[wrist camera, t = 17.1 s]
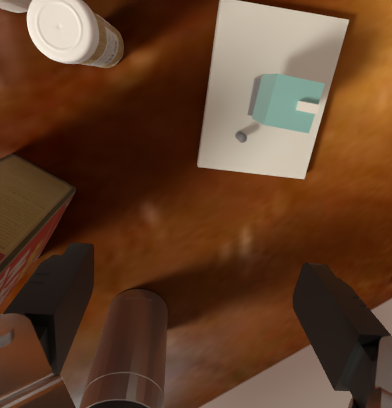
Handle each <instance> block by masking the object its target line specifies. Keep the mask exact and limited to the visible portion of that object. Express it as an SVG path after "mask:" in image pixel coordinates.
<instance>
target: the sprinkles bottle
mask: <svg viewBox="0 0 392 408" xmlns="http://www.w3.org/2000/svg"><path fill="white" fill-rule="evenodd" d="M27 25H28V30H29V33H30V36H31V38H32V40H33V42H34V44H35V45H36V46H37V48H38V49H39V50H40V51H41V52H42V53H43V54H44V55H46V56H47V57H49V58H50V59H52V60H55V61H58V62H62V63H67V64H78V63H79V64H83V65H90V66H98V67H101V68H110V67H113V66H115V65H116V64H117V63H118V62H119V61H120V60H121V58H122V56H123V52H124V44H123V43H124V42H123V39H122V37H121V34H120V33H119V31H118V30H117V29H116V28H115V27H114V26H112V25H110V24H109V23H108V22H107V21H105V20H104V19H103V18H101V17H100V16H99V15H97V14H95V13H94V12H92V11H91V9H90V8H89V7H88V6H87V4H85V3H84V2H83V1H82V0H32V2H31V3H30V6H29V8H28V12H27Z"/></svg>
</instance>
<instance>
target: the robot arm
mask: <svg viewBox="0 0 392 408" xmlns="http://www.w3.org/2000/svg"><path fill="white" fill-rule="evenodd" d="M93 285H94V246H93V244H86V243H74V242H72V243H70V245H69V246H68V248H67V249H66V251H65V252H64V254H63V255H53V256H51V257H49V258H48V259H46V260H45V261H43V262H42V263H41V264H40V265H39V266H38V268H37V269H36V270H35V272H34V274H33V275H32V276H31V277H30V278H29V280H28V282H27V283H26V284H25V285H24V286H23V288H22V289H21V290H20V292H19V293H18V294H17V296H16V297H15V298H14V300H13V301H12V302H11V304H10V305H9V306H8V308H7V309H6V310H5V312H4V313H3V314H2V315H0V408H76V407H75V405H74V403H73V401H72V398H71V396H70V394H69V392H68V389H67V387H66V385H65V383H64V381H63V379H62V377H61V376H60V372H61V370H62V367H63V365H64V362H65V360H66V357H67V355H68V352H69V350H70V347H71V345H72V342H73V340H74V337H75V335H76V332H77V330H78V327H79V325H80V322H81V320H82V317H83V315H84V313H85V310H86V308H87V305H88V303H89V300H90V298H91V295H92V291H93ZM293 308H294V311H295V313H296V315H297V317H298V319H299V321H300V323H301V325H302V327H303V329H304V331H305V333H306V335H307V337H308V339H309V341H310V343H311V345H312V347H313V349H314V351H315V353H316V355H317V356H318V359H319V361H320V363H321V365H322V367H323V369H324V370H325V373H326V375H327V377H328V379H329V381H330V383H331V385H332V387H333V388H334V390H335V391H337V390H338V391H350V392H351V394H352V396H353V397H352V399H351V401H350V403H349V407H348V408H392V336H391V335H390V333H389V332H388V331H387V330H386V329H385V327H384V326H383V325H382V324H381V323H380V321H379V320H378V319H377V318H376V317H375V316H374V314H373V313H372V312H371V311H370V309H369V308H366V305H365V303H364V302H363V301H362V300H361V299H359V296H358V295H357V294H356V293H355V291H354V290H353V289H352V288H351V287H350V286H349V285H347V284H346V283H345V282H343V281H342V280H341V279H339V278H337V277H336V276H335V275H334V273H333V272H332V271H331V270H330V268H329V267H328V266H327V265H325V264H316V263H305V264H304V265H303V266H302V269H301V272H300V275H299V278H298V281H297V284H296V287H295V291H294V294H293ZM167 321H168V309H167V306H166V303H165V302H164V300H163V299H162V298H161V297H160V296H159V295H157V294H156V293H154V292H152V291H149V290H144V289H132V290H127V291H125V292H122V293H121V294H119V295H117V296H116V297H115V298H114V299H113V301H112V303H111V305H110V308H109V311H108V314H107V318H106V321H105V324H104V327H103V330H102V334H101V337H100V340H99V344H98V347H97V350H96V354H95V357H94V360H93V363H92V367H91V370H90V373H89V377H88V380H87V383H86V387H85V390H84V393H83V397H82V400H81V404H80V407H79V408H164V385H165V363H166V341H167Z"/></svg>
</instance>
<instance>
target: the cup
mask: <svg viewBox="0 0 392 408" xmlns="http://www.w3.org/2000/svg"><path fill="white" fill-rule="evenodd" d="M31 2H32V0H0V8H1V9H4V10H8V11H11V12H16V13H21V12H27V11H28V8H29V6H30V3H31Z"/></svg>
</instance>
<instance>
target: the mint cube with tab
mask: <svg viewBox="0 0 392 408" xmlns="http://www.w3.org/2000/svg"><path fill="white" fill-rule="evenodd" d="M324 85H325V83H320V82H315V81H311V80H306V79H301V78H296V77H292V76H287V75H282V74H278V73H277V74H262V78H261V82H260V86H259V90H258V94H257V98H256V102H255V107H254V111H253V115H252V119H253V120H255V121H257V122H259V123H261V124H263V125H267V126H272V127H277V128H282V129H288V130H293V131H298V132H303V133H309V131H310V128H311V125H312V122H313V119H314V116H315V114H317V113H318V110H319V107H320V105H318V104H319V101H320V98H321V95H322V91H323V88H324Z"/></svg>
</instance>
